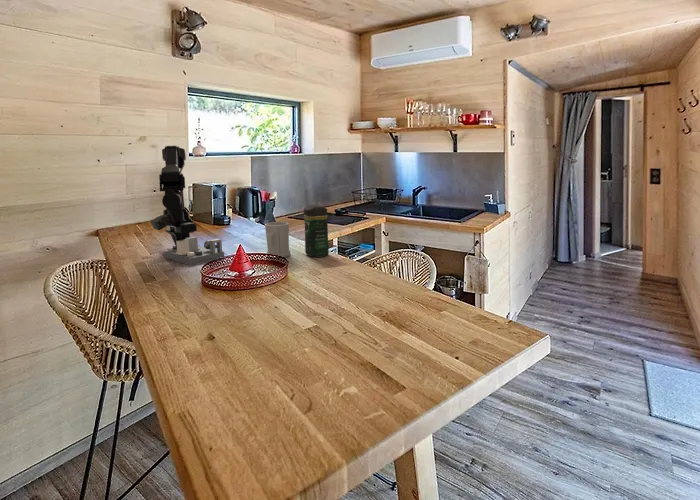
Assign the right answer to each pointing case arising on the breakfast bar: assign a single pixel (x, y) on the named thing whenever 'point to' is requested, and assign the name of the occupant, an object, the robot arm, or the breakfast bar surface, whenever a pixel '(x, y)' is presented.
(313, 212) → the coffee jar
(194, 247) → the white stepped block
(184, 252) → the cream flanged block
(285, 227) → the cup
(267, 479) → the breakfast bar surface
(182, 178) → the robot arm
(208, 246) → the plunger
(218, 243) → the console
